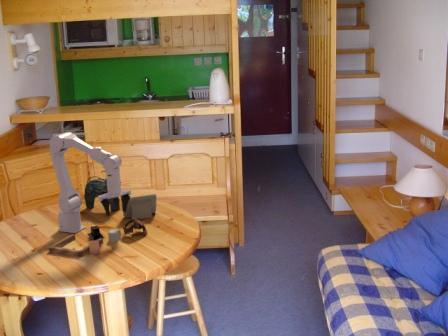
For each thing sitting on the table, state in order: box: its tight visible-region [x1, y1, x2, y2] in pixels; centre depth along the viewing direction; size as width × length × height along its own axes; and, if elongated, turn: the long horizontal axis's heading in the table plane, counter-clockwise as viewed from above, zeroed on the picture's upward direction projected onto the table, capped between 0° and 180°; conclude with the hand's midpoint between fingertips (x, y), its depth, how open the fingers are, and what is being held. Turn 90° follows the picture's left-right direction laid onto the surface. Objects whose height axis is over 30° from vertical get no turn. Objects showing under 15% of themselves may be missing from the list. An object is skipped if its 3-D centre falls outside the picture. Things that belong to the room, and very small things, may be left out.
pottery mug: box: [122, 217, 148, 237], centre depth 244 cm, size 12×10×8 cm
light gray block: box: [107, 228, 122, 243], centre depth 238 cm, size 4×4×4 cm
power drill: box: [83, 170, 121, 212], centre depth 275 cm, size 20×6×20 cm, turn 69°
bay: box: [48, 233, 104, 258], centre depth 231 cm, size 16×15×2 cm
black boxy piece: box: [86, 225, 105, 241], centre depth 243 cm, size 12×7×5 cm, turn 28°
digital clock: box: [122, 193, 158, 220], centre depth 264 cm, size 16×9×11 cm, turn 99°
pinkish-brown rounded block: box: [88, 239, 101, 256], centre depth 224 cm, size 4×4×5 cm
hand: (116, 213), depth 241 cm, fingers open, 7 cm apart
